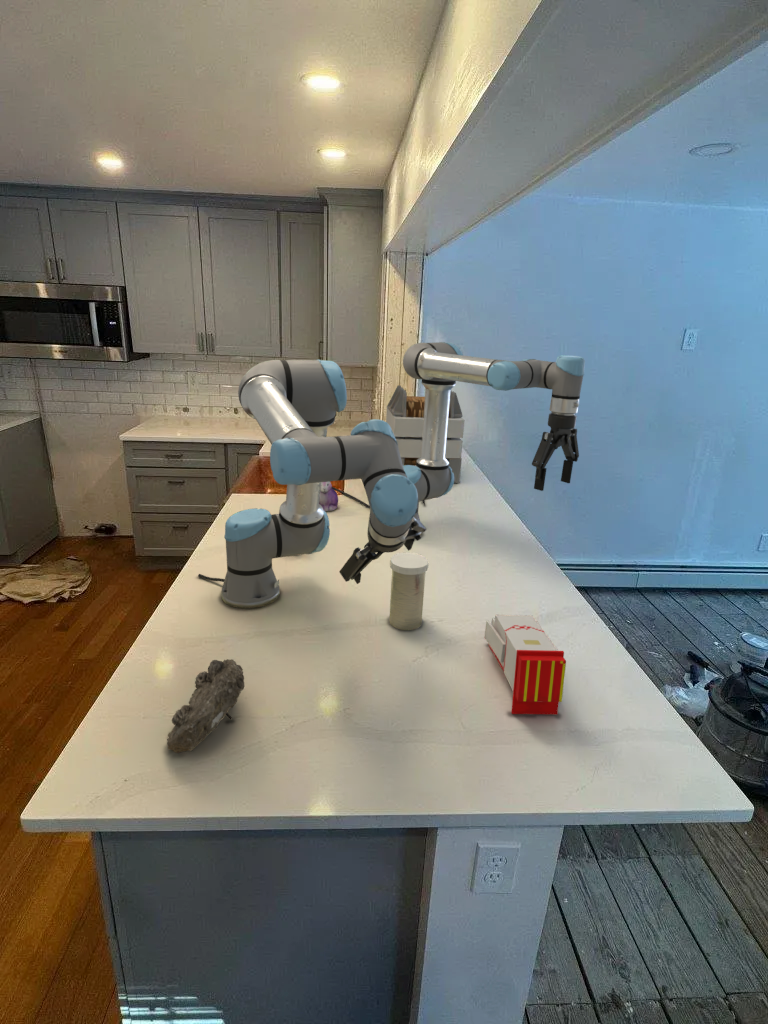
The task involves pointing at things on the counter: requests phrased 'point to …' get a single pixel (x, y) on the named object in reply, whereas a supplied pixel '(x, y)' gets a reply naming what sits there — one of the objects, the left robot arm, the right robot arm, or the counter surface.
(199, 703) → the fossil
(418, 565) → the lid
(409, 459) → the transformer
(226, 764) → the counter surface
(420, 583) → the jar
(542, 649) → the toy
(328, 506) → the figurine
